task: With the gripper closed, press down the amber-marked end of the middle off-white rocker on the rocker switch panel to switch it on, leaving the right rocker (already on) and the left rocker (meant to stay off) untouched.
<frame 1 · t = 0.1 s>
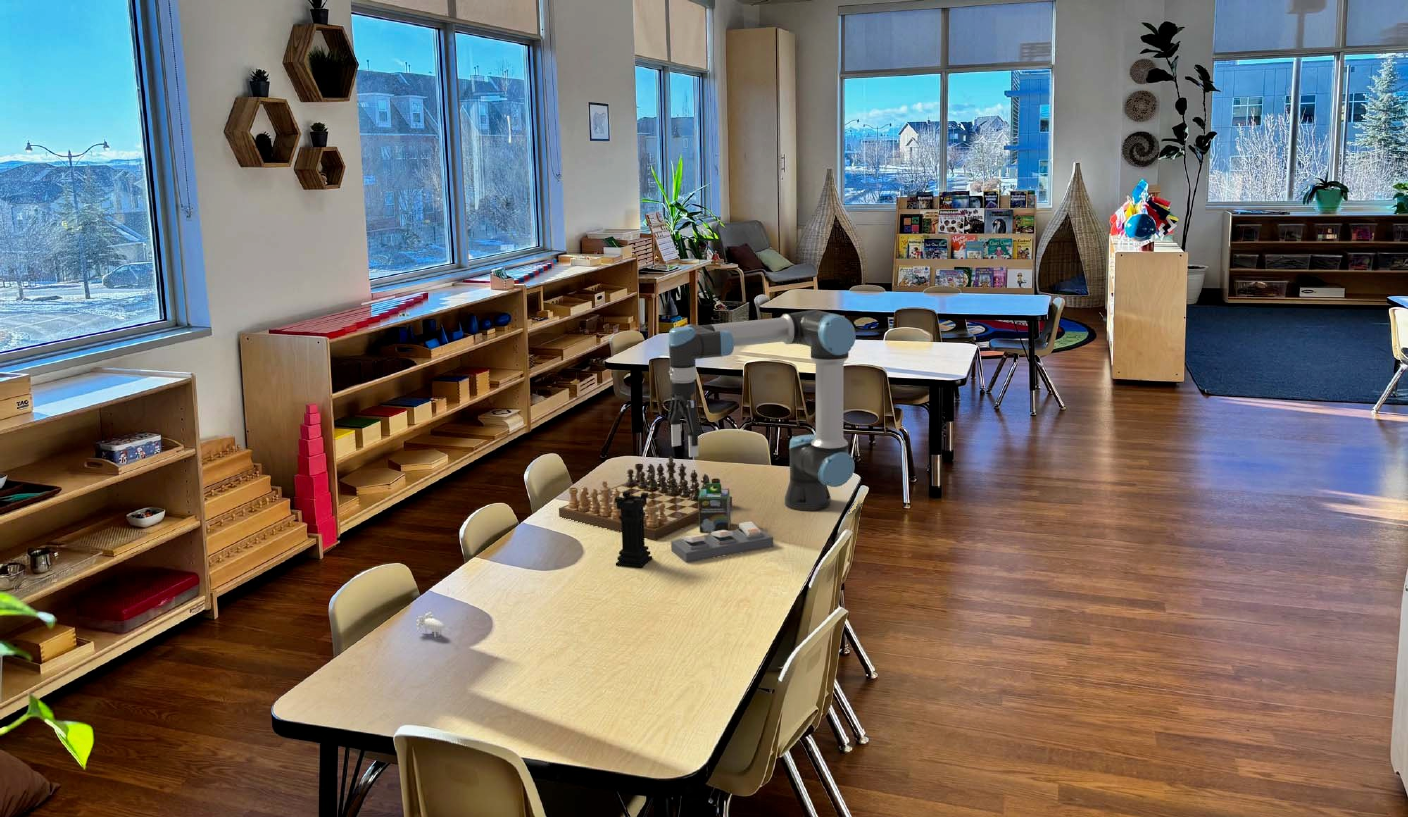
hand: (684, 451, 329), 28 cm above the table, tool pointing down, fingers open, 13 cm apart
rocker 1: (693, 538, 323), point 5 cm above the table, hinge at 12.0°
rocker switch panel: (722, 548, 327), on the table
middle rocker: (722, 533, 326), point 5 cm above the table, hinge at 12.0°
chess piece: (634, 563, 319), on the table
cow: (436, 636, 273), on the table
chess set: (646, 513, 363), on the table
rocker 2: (749, 528, 330), point 5 cm above the table, hinge at -12.0°
chalk box: (715, 528, 346), on the table
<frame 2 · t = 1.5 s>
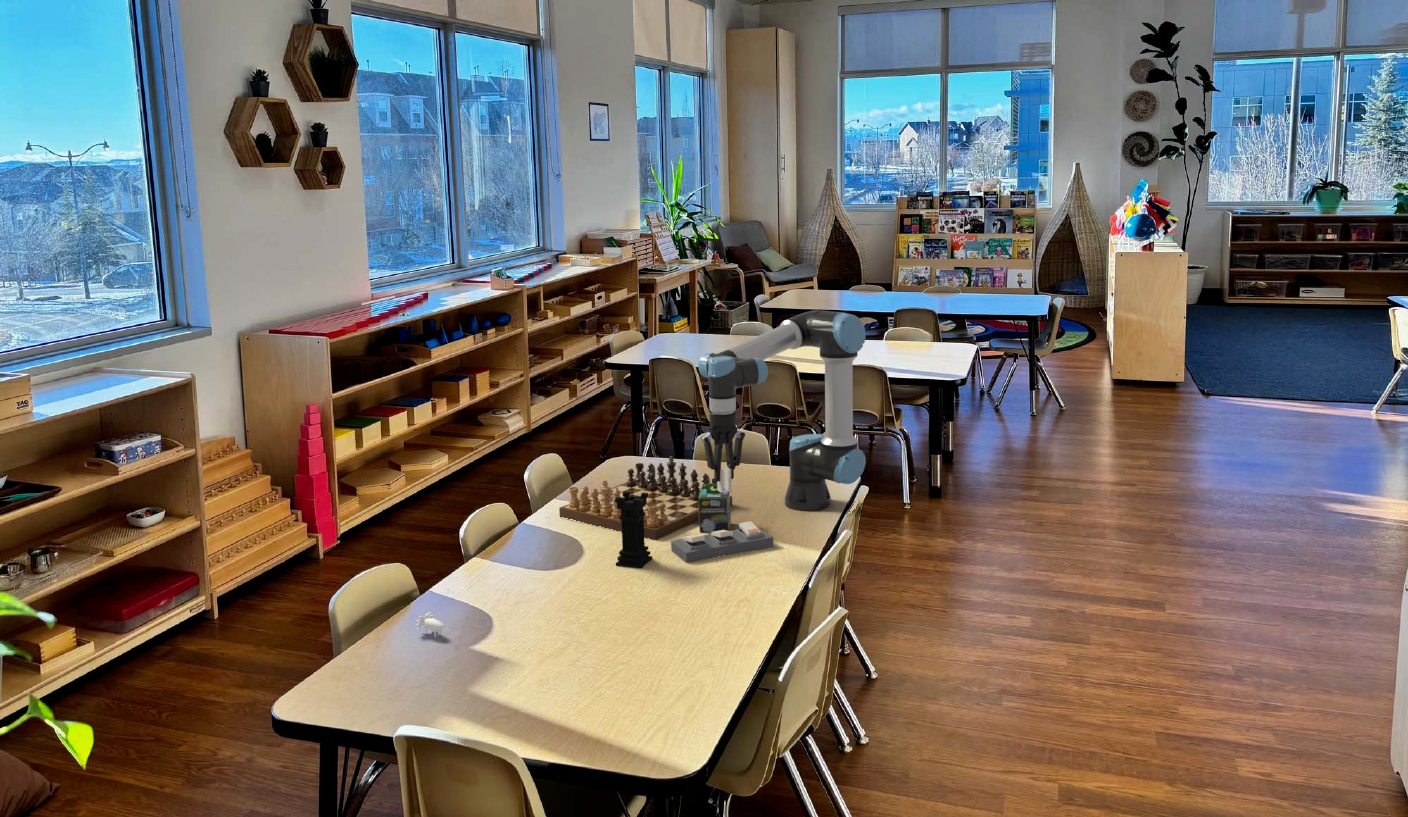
hand: (724, 490, 321), 18 cm above the table, tool pointing down, fingers closed
nothing on the table moved.
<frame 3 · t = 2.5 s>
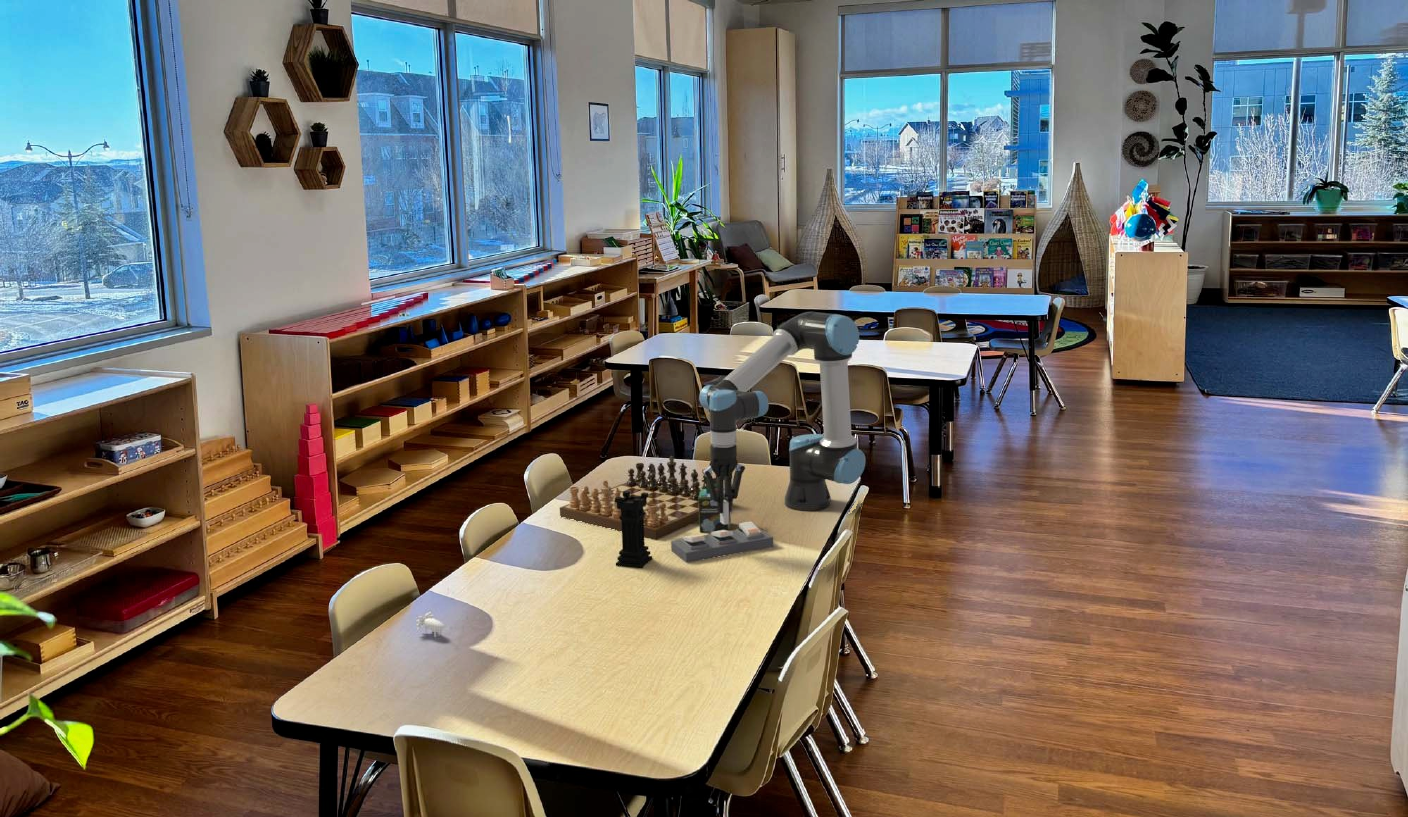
hand: (724, 522, 323), 9 cm above the table, tool pointing down, fingers closed
nothing on the table moved.
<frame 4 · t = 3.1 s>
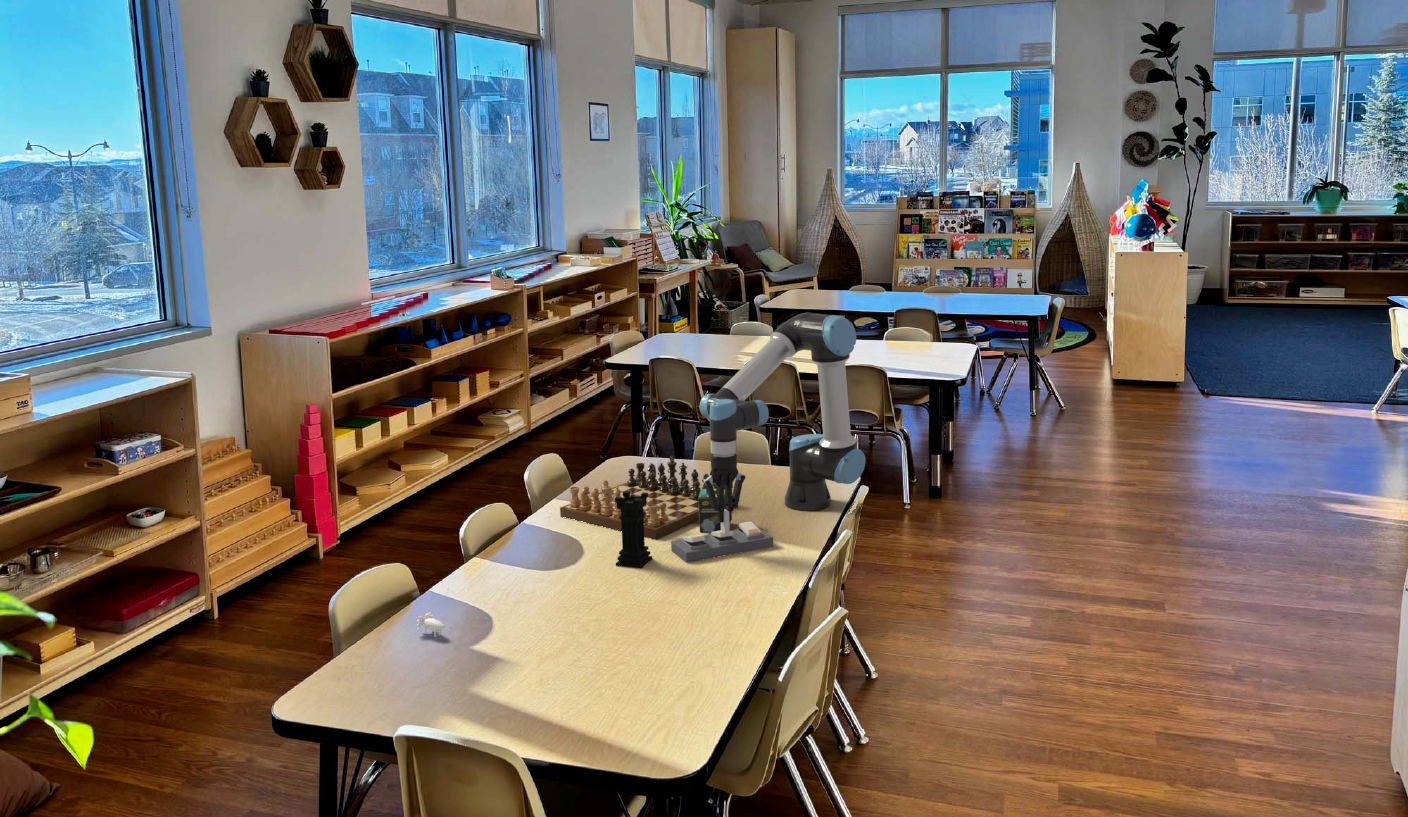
hand: (725, 532, 324), 6 cm above the table, tool pointing down, fingers closed
middle rocker: (722, 533, 326), point 5 cm above the table, hinge at 11.9°, touching gripper
everything else where it was.
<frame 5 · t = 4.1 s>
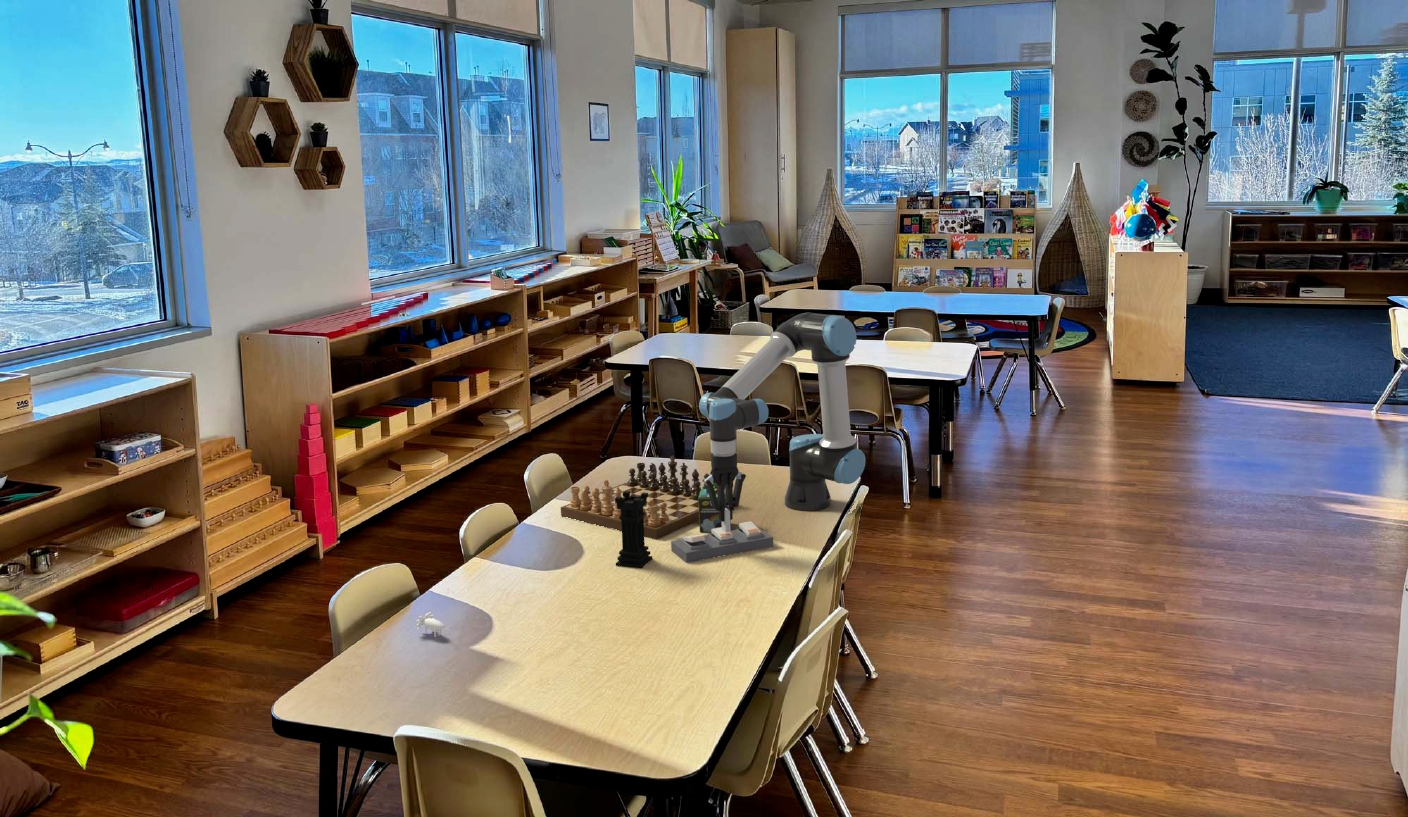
hand: (726, 531, 324), 6 cm above the table, tool pointing down, fingers closed
middle rocker: (722, 533, 326), point 5 cm above the table, hinge at -5.4°
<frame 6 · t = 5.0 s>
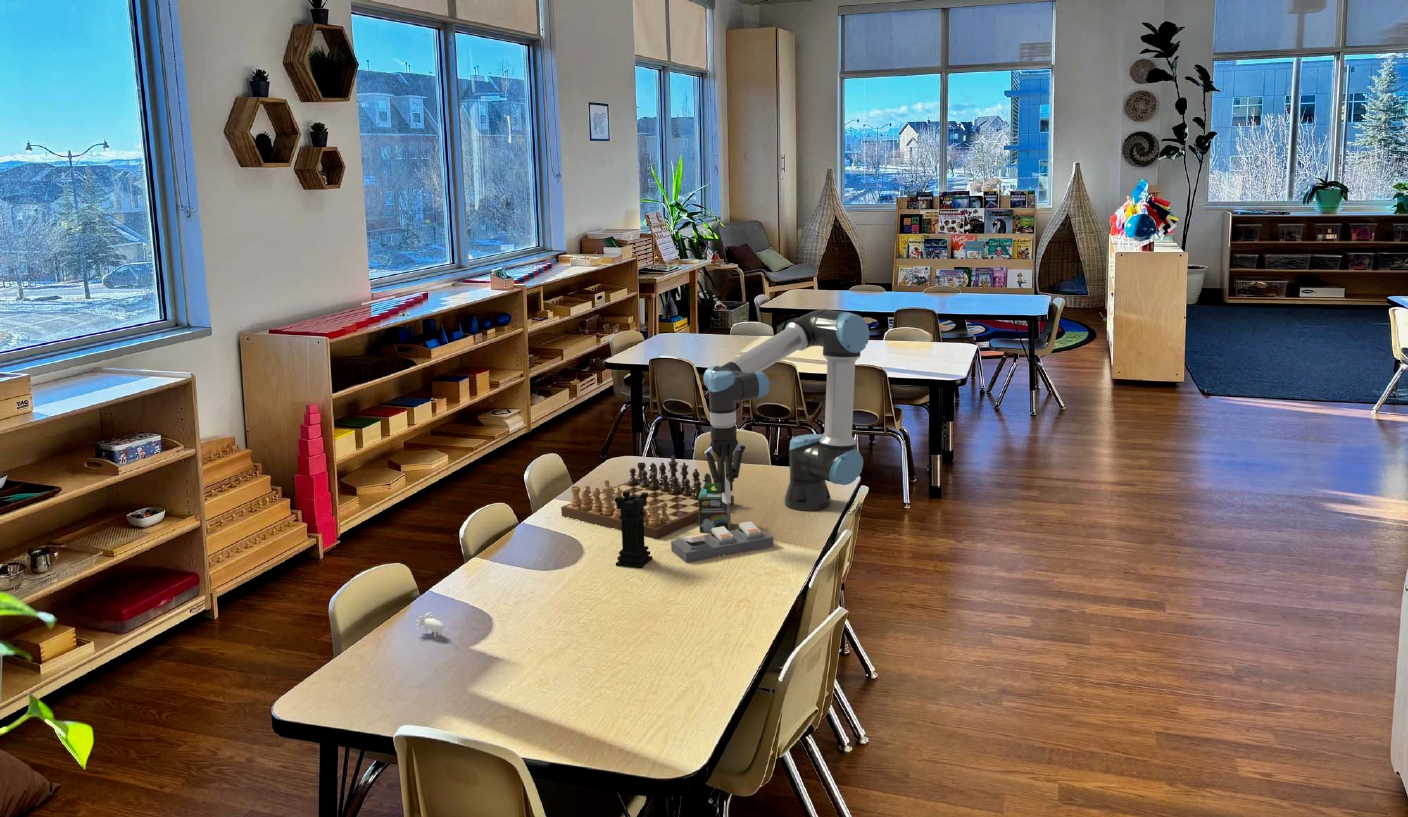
hand: (726, 502, 328), 13 cm above the table, tool pointing down, fingers closed
middle rocker: (722, 533, 326), point 5 cm above the table, hinge at -10.4°
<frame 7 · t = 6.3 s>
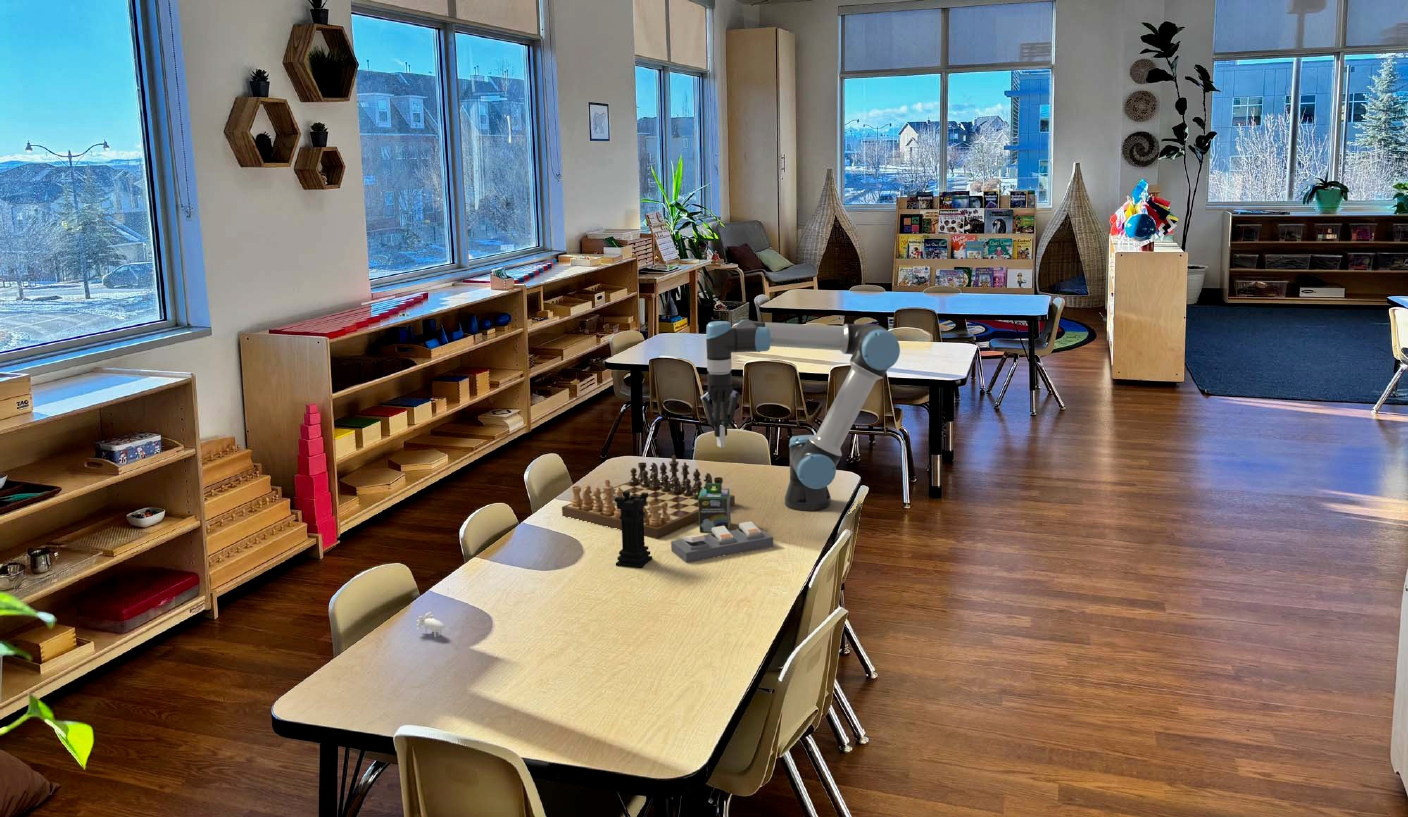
hand: (721, 446, 347), 24 cm above the table, tool pointing down, fingers closed
middle rocker: (722, 533, 326), point 5 cm above the table, hinge at -14.6°
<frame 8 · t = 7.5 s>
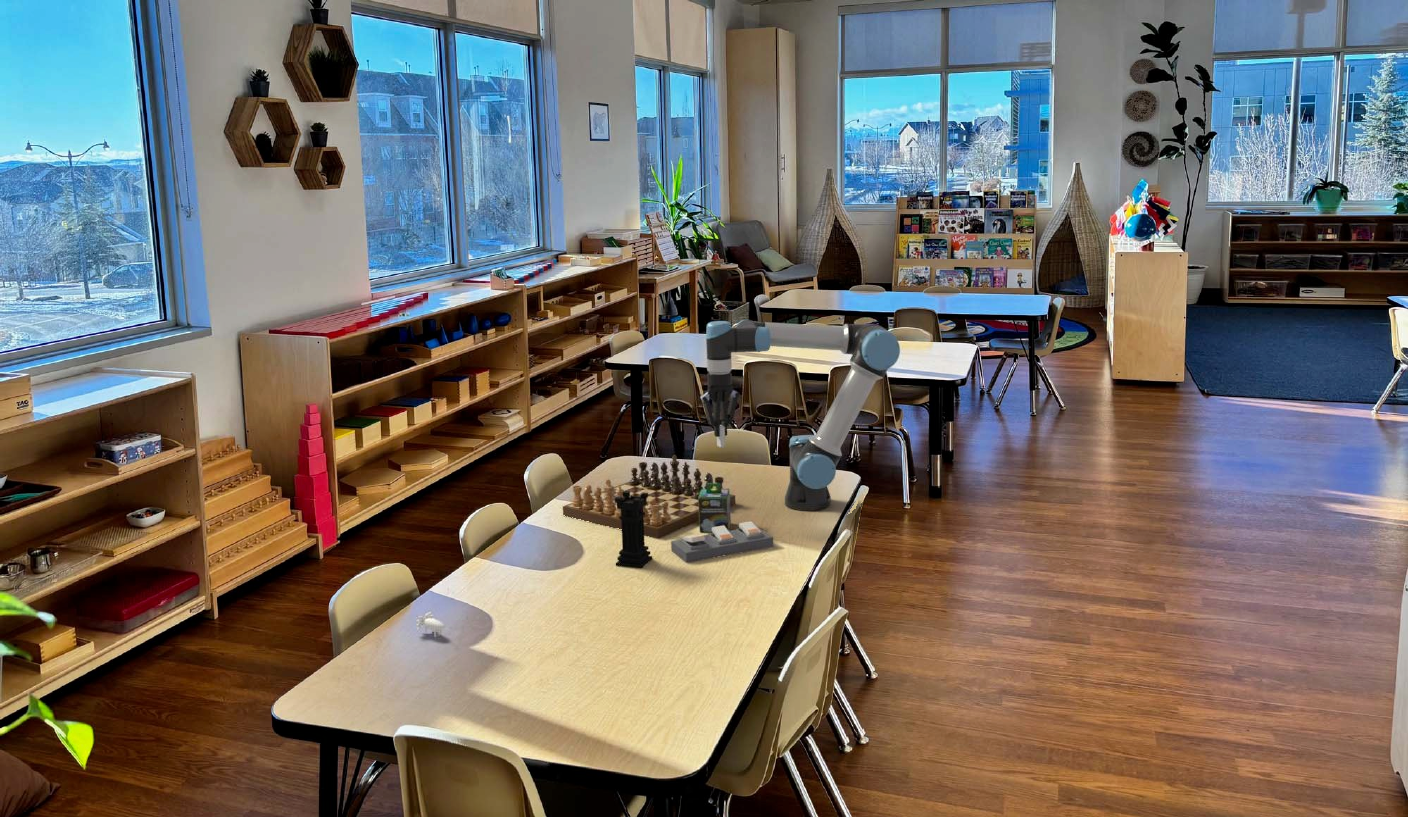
hand: (721, 446, 347), 24 cm above the table, tool pointing down, fingers closed
middle rocker: (722, 533, 326), point 5 cm above the table, hinge at -16.7°
at the end: middle rocker at -17° (first picture: +12°); rocker 2 at -12° (first picture: -12°); rocker 1 at +12° (first picture: +12°) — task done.
